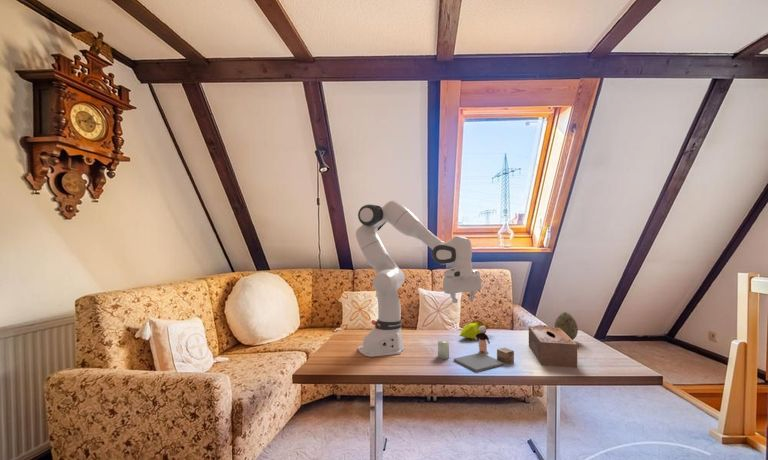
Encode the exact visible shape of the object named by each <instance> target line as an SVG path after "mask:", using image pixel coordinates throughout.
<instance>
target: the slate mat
mask: <svg viewBox="0 0 768 460" xmlns="http://www.w3.org/2000/svg"><path fill="white" fill-rule="evenodd" d="M453 362H455V363H457V364H459V365H461V366H463V367H465V368H467V369H469V370H470V371H473V372H475V373H478V371H479V372H482V370H483V371H486V370H485V369H487V370H489V368H491V369H494V368H493V367H495V368H498V367H497V366H499V367H502V366H501V365H503V366H505V364H504V362H501V361H499V360H497V358H494V357H492V356H489V355H488V354H483V353H479V352H478V353H473V354H469V355H464V356H460V357H459V356H458V357H455V358H453Z"/></svg>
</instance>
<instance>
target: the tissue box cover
mask: <svg viewBox="0 0 768 460" xmlns="http://www.w3.org/2000/svg"><path fill="white" fill-rule="evenodd" d="M528 347H529V348H530V350H531V351H532V353H533V355H534V356H535V358H536V360H537V361H538V363H539V365H540V366H551V367H566V368H578V344H577V342H576V341H574V339H573V340H572V339H571V338H570V337H569V336H568V335H567V334H566V333H565V332H564V331H563V330H561V329H560V328H554V326H553V327H549V326H535V325H533V326H532V325H529V326H528Z"/></svg>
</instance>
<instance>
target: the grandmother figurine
mask: <svg viewBox="0 0 768 460" xmlns="http://www.w3.org/2000/svg"><path fill="white" fill-rule="evenodd" d="M478 330H479V331H480V332H481V333H478V334H477V335H476V337H475V338H474V340H475V341H476V340H478V339H479V340H478V353H483V354H485V355H488V354H489V351H488V349H487V345H488V344H491V342H490V338H489V337H488V335H487V334H486V333H485V330H486V327H485V326H480V328H479V329H478ZM486 331H487V330H486ZM484 333H485V334H484Z"/></svg>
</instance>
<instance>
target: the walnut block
mask: <svg viewBox="0 0 768 460" xmlns="http://www.w3.org/2000/svg"><path fill="white" fill-rule="evenodd" d="M496 359H497V360H499V361H501V362H504V363H505V364H504V365H508V364H511V362H512V363H515V351H514V350H512V349H511V348H507V347H501V348H498V349H496ZM507 363H508V364H507Z"/></svg>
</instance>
